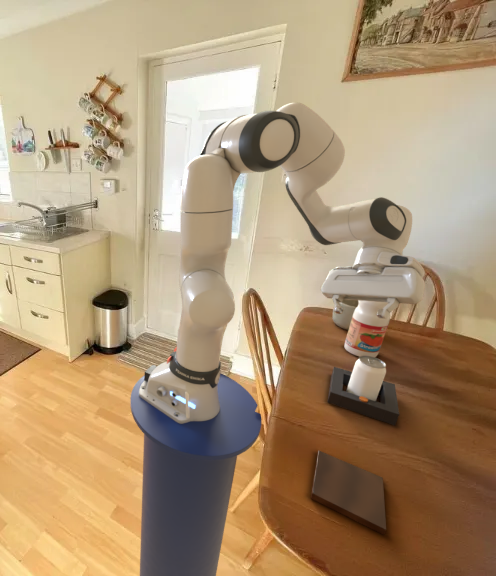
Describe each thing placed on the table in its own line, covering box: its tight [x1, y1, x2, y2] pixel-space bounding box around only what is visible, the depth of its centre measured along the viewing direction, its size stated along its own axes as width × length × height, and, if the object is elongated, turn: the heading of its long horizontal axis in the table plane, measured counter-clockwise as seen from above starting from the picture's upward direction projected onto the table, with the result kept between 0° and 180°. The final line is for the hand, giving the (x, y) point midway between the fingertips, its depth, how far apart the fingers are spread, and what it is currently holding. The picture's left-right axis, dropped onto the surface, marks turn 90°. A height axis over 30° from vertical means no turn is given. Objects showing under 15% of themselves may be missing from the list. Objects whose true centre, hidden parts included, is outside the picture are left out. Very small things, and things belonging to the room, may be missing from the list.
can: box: [345, 356, 387, 402], centre depth 84 cm, size 6×6×12 cm
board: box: [310, 450, 387, 536], centre depth 61 cm, size 11×12×2 cm
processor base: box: [327, 366, 400, 426], centre depth 85 cm, size 14×14×4 cm
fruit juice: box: [344, 300, 391, 358], centre depth 102 cm, size 9×9×28 cm
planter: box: [332, 299, 359, 331], centre depth 122 cm, size 12×12×11 cm
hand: (358, 315), depth 76 cm, fingers open, 8 cm apart
